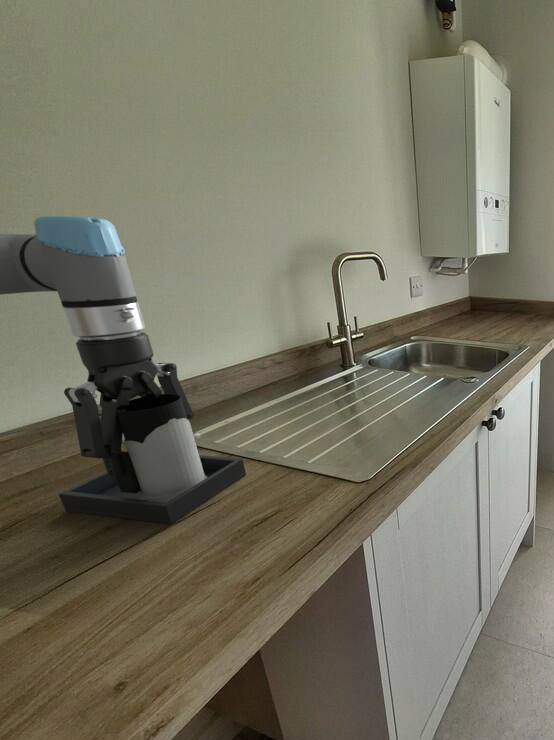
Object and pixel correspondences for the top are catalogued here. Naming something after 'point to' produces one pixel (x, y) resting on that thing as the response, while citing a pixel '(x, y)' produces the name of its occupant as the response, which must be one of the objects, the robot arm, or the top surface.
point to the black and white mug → (161, 447)
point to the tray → (111, 502)
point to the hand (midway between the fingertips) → (157, 476)
